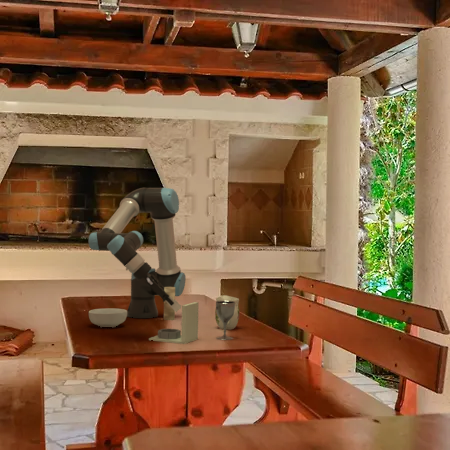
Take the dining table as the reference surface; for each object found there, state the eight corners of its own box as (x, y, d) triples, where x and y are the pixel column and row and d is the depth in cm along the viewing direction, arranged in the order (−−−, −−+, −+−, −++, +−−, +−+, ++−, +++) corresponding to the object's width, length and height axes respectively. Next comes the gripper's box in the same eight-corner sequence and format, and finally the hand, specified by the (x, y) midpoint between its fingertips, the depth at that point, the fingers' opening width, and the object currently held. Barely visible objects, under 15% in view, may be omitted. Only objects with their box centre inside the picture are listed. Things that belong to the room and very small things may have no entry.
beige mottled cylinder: (161, 319, 279) (162, 287, 278) (166, 318, 283) (167, 286, 282) (171, 320, 277) (172, 288, 277) (176, 319, 281) (177, 287, 281)
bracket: (148, 340, 277) (149, 302, 277) (162, 335, 288) (163, 299, 288) (184, 344, 271) (185, 305, 271) (197, 339, 282) (198, 302, 282)
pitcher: (218, 332, 299) (219, 300, 298) (211, 325, 316) (212, 295, 316) (243, 332, 300) (244, 300, 300) (235, 325, 318) (236, 295, 318)
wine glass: (214, 336, 289) (215, 300, 288) (233, 336, 289) (234, 300, 289) (215, 340, 281) (216, 303, 280) (235, 340, 281) (236, 303, 281)
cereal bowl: (112, 322, 320) (112, 306, 320) (134, 326, 308) (134, 311, 308) (81, 325, 308) (81, 310, 308) (102, 331, 296) (102, 314, 296)
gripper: (134, 272, 288) (172, 312, 289) (129, 276, 270) (171, 318, 271) (147, 259, 288) (185, 300, 289) (143, 262, 270) (185, 305, 271)
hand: (178, 309), depth 280 cm, fingers closed on beige mottled cylinder, 4 cm apart
